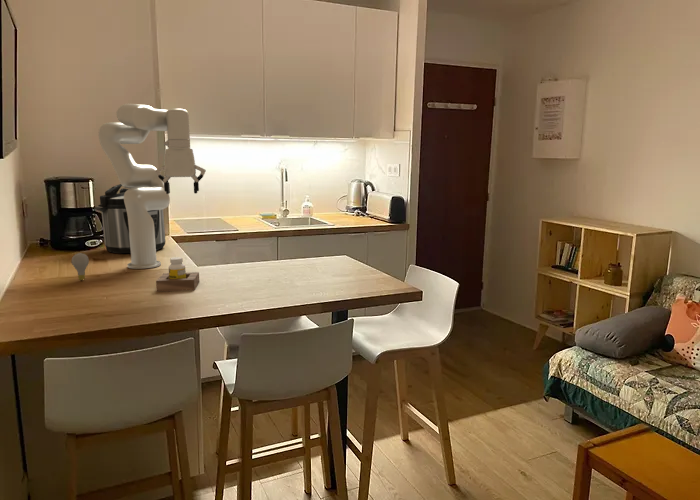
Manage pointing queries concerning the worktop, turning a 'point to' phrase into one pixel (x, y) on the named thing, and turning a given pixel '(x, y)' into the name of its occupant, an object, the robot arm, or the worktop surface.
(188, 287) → the socket block
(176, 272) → the supplement bottle
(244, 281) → the worktop surface
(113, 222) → the pressure cooker
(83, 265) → the light bulb
